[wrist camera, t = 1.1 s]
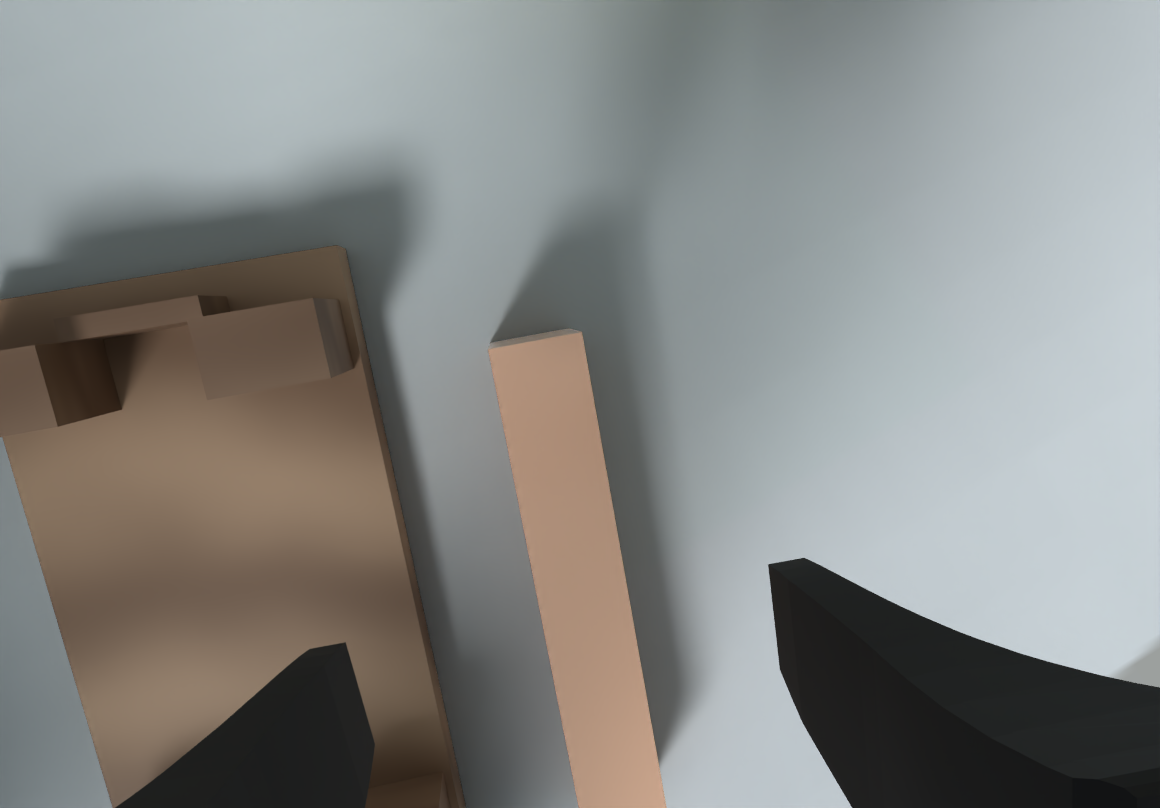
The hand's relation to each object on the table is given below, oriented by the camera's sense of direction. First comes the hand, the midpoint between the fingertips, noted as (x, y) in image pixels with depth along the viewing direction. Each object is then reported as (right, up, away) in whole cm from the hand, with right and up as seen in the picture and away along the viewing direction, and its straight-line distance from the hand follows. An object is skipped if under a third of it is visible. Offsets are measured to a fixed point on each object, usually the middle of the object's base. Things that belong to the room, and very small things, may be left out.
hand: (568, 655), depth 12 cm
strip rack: (-10, -2, +11) cm, 15 cm away
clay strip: (0, -1, +12) cm, 12 cm away
